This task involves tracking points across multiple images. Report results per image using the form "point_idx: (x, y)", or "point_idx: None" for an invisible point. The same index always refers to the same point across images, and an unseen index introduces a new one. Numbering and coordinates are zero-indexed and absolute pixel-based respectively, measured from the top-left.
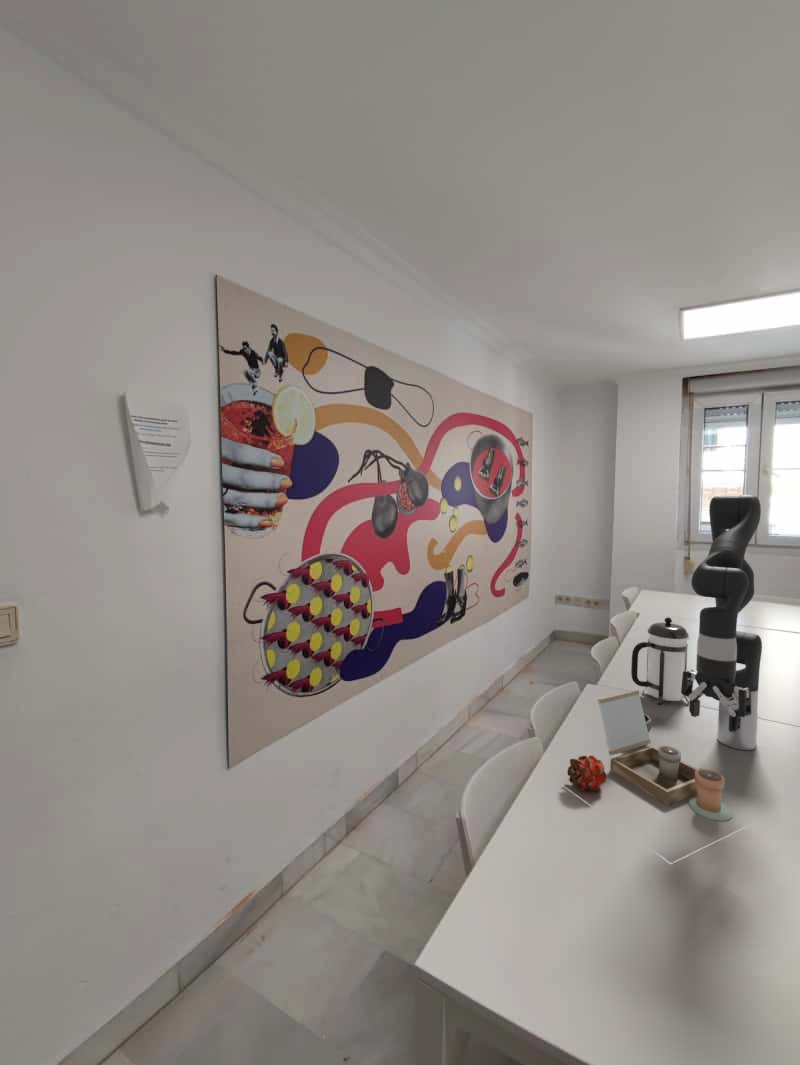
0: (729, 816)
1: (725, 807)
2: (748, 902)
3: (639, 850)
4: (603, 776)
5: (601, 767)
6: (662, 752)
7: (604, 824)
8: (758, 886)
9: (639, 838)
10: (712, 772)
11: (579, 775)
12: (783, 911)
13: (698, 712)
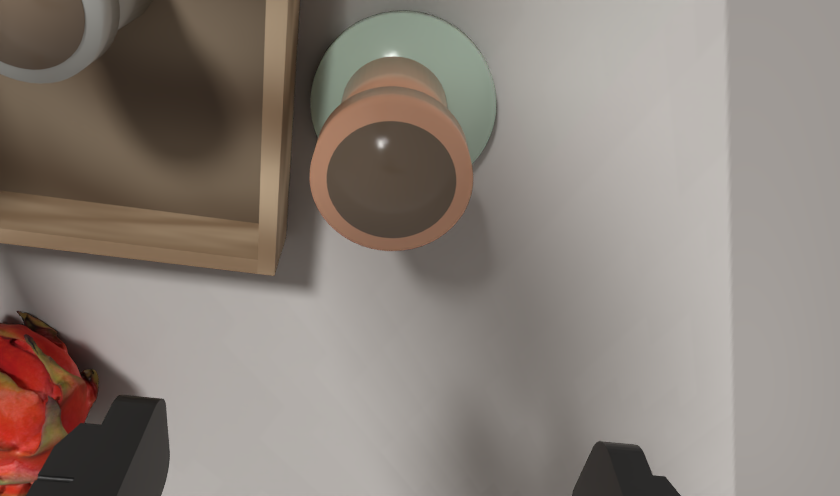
0: (491, 113)
1: (452, 52)
2: (641, 434)
3: (373, 473)
4: (70, 403)
5: (29, 413)
6: (21, 76)
7: (244, 461)
8: (653, 371)
9: (343, 439)
10: (386, 136)
11: None
12: (715, 403)
13: (148, 439)
